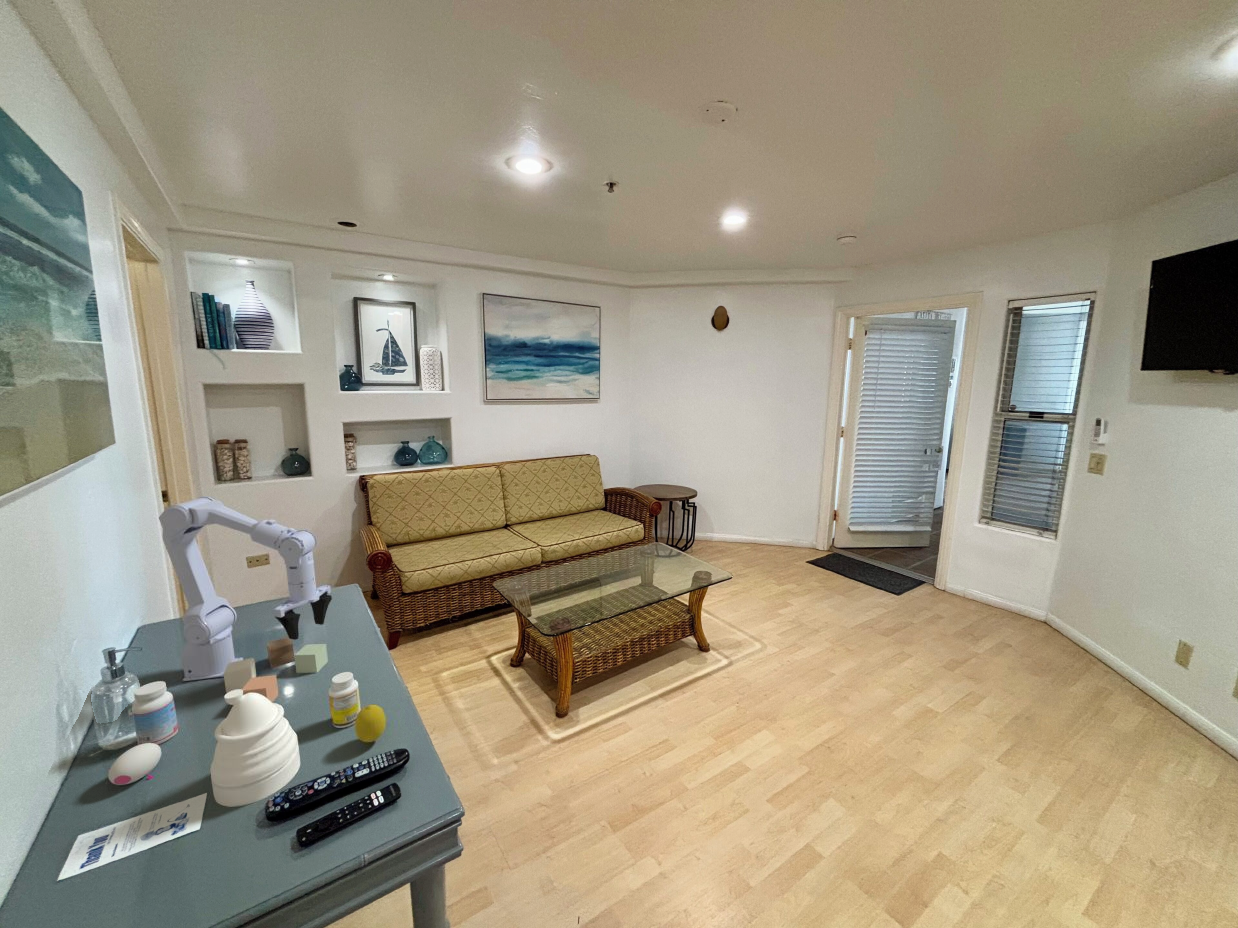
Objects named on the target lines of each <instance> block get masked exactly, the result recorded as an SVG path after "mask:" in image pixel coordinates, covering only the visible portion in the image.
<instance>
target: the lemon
mask: <svg viewBox="0 0 1238 928" xmlns="http://www.w3.org/2000/svg"><path fill="white" fill-rule="evenodd" d="M386 724H387V719H386V715H385V712H384V709H383V708H382V707H381V706H379V705H378V704H368V705H366V706H364V707H363V708H361V711H360V712H359V713H358V715H357V717H356V721H355V723H354V731H355V734H356V736H357V738H358V739H359V740H360V741H362V742H363V743H374V742H375V741H377V740H378V739H379V738H380V737H381V736H382V735H383V733H384V732H385V729H386Z"/></svg>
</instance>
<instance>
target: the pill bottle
mask: <svg viewBox="0 0 1238 928" xmlns="http://www.w3.org/2000/svg"><path fill="white" fill-rule="evenodd" d="M133 696H134V700H135V702H134V703H133V704H132V707H131V714H132V719H133V725H134V730H135V735H136V740H137V746H138V745H141V744H145V743H154V744H157V745H158V746H160V745H161V744H163V743H165V742H168V740H170V739H172V738H174V736H176V735H177V733H178V732H179V725H178V724H179V723H178V717H177V712H176V706H175V701H174V696H173V694H172V693H171V692H170V691H167V684H166V681H163V680H162V681H161V680H160V681H159V680H158V681H153V682H149V683H147V684H144V685H142V686H140V687H138V688H137V689H136V690H134V692H133Z"/></svg>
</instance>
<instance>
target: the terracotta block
mask: <svg viewBox="0 0 1238 928" xmlns="http://www.w3.org/2000/svg"><path fill="white" fill-rule="evenodd" d="M242 690H243V695H245V694H247V693H250V692H251V693H258V694H261V695H263V696H264V697H266V698H267V699H268V700H270V701H271V702H272V703H274V702H275V700H276V698H277V697H278V696H279V687H278V680H277V674H273V675H265V676H256V677H255V678H251V679H250V680H249V681H248V683H247V684H246V685H245V686H244V687H243V688H242Z"/></svg>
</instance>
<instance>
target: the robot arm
mask: <svg viewBox="0 0 1238 928" xmlns="http://www.w3.org/2000/svg"><path fill="white" fill-rule="evenodd" d="M158 520H159V522H160V524H161V527H162V541H163V544H164V546H165V549H166V550H167V554H168V556H169V559H170V561H171V564H172V567H173V569H174V571H175V574H176V576H177V579H178V582H179V585H180V588H181V589H182V592H183V594H184V597H185V600H186V602H187V605H188V607H187V609H186V611H185V613H184V614H183V616H182V620H181V621H182V623H183V636H184V638H185V639H186V642H184V645H183V646H182V649H181V662H182V667H183V675H184V677H183V679H182V681H183V682H187V681H188V682H189V681H196V680H204V679H213V678H224V671H225V669H226V667H227V665H228V663H230V662H235V661H240V660H244V658H243V657H235V656H236V655H235V650H234V644H233V643H234V642H233V636H232V631H233V625H234V624H235V623H236V621H237V618H238V616H237V612H236V610H235V609H234V608H233V607H232V606H231V605H230V603H229V602H228V599H227V598H225V597H221V596H218V595H217V592H216V590H215V588H214V587H215V586H214V584H213V582H212V579H211V577H210V574H209V571H208V569H207V566H206V563H205V561H204V559H203V556H202V553H201V550H200V548H199V544H198V543H197V540H196V537H197V536H198V534H199V533H200V532H201V531H202V529H203V528H204V527H205V526H210V525H219V526H222V527H225V528H228V529H231V530H235V531H238V532H240V533H244V534H247V535H249V536H250V540H251V541H252V542H255V543H256V544H260V545H262V546H264V547H267V548H270V549H272V550H275V551H278V554H279V555H280V557H282V558H283V560H284V565H285V569H286V576H287V577H286V578H287V587H288V595H289V598H288V599H286V600H285V601H284V602H282V603H281V604H280V605H279V606H277V607H275V608H273V614H274V615H273V616H274V617H275V618H274V619H276V620H277V621H278V622H279V623H280V624H281V625H282V626H283V629H284V630H285V631H286V634H287V637H289V639H291V640H298V639H299V633H300V632H299V623H300V622H299V621H300V617H301V613H297V612H295V611H294V610H296V609H298V608H300V607H302V606H304V605H307V604H310V606H311V609H312V614H313V615H312V616H313V619H314V624H315V625H320V626H321V625H325V619H326V614H327V611H328V608H329V605H330V603H331V601H332V600H333V598H332V595H331V592H332V591H331V585H326V584H324V585H321V586H319V587H317V583H316V570H315V561H314V553H313V550H314V549H315V547H316V546H317V537H316V536H315V534H314V533H313V532H311V531H310V530H308V529H298V530H296V529H295V528H293V527H287V526H284V525H281V524H279V523H277V520H275V519H272V518H271V519H263V520H261V521H258V520H256V519H254V518H251V517H249V516H248V515H245V514H243V513H241V512H238V511H237V510H234V509H232V508H230V507H228V506H226V505H224V504H223V502H222V500H218V499H214V498H212V497H210V496H199V497H197V498H194V499H191V500H187V501H184V502H180V503H176V504H171V505H168V506H167V507H165V509H163V512H161V514H160V515H159V516H158Z"/></svg>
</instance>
